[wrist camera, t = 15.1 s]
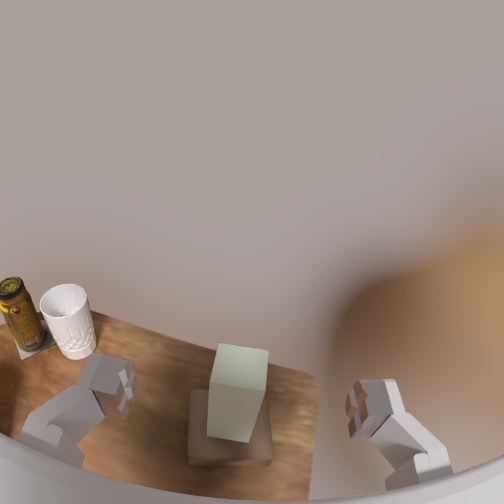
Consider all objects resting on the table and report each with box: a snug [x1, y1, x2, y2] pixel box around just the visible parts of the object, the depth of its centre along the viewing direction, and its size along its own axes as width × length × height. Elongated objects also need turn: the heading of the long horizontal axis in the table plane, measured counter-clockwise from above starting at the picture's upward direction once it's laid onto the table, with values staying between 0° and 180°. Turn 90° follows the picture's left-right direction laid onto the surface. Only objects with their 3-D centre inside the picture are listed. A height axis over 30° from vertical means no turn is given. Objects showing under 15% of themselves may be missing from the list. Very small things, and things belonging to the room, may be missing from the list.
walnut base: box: [187, 389, 274, 467], centre depth 35 cm, size 10×10×4 cm
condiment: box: [0, 277, 57, 360], centre depth 41 cm, size 7×8×12 cm
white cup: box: [40, 284, 97, 360], centre depth 42 cm, size 8×8×10 cm
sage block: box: [207, 343, 269, 443], centre depth 31 cm, size 5×5×12 cm
